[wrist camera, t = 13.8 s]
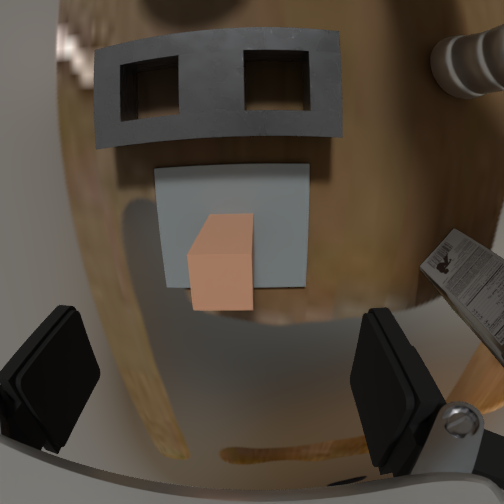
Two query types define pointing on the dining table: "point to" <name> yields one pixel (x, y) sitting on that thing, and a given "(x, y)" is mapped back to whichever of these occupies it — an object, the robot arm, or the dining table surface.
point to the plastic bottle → (470, 63)
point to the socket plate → (217, 85)
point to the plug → (223, 263)
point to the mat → (237, 202)
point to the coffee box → (471, 286)
